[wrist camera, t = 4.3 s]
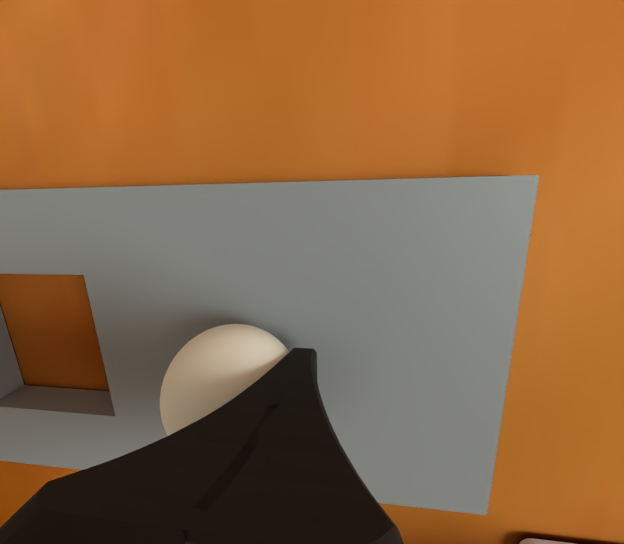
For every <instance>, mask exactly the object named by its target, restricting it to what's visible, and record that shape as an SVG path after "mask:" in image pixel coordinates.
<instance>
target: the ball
mask: <svg viewBox="0 0 624 544" xmlns="http://www.w3.org/2000/svg"><path fill="white" fill-rule="evenodd" d="M288 353H289V351H288V349H287V348H286V347H285V346H284V345H283V344H282V343H281V342H280V341H279V340H278V339H277V338H276V337H275V336H273V335H272V334H270V333H269V332H267V331H265V330H263V329H260V328H258V327H255V326H251V325H245V324H227V325H221V326H217V327H214V328H211V329H209V330H206V331H204V332H202V333H201V334H199V335H197V336H196V337H194V338H193V339H192V340H190V341H189V342H188V343H187V344H186V345H185V346H184V347H183V348H182V349H181V350H180V351H179V352H178V353H177V355H176V356H175V357H174V359H173V360H172V362H171V363H170V365H169V367H168V370H167V372H166V374H165V376H164V380H163V383H162V387H161V393H160V413H161V419H162V423H163V426H164V429H165V431H166V433H167V435H168V436H169V435H171V434H173V433H174V432H176V431H178V430H180V429H182V428H184V427H186V426H188V425H190V424H192V423H194V422H196V421H198V420H199V419H201V418H203V417H205V416H207V415H208V414H210V413H211V412H213V411H215V410H216V409H218V408H220V407H221V406H223V405H224V404H226V403H227V402H229V401H230V400H232V399H233V398H235V397H236V396H238V395H239V394H240V393H241V392H243V391H244V390H245V389H247V388H248V387H249V386H251V385H252V384H253V383H255V382H256V381H257V380H258V379H260V378H261V377H262V376H263V375H264V374H265V373H267V372H268V371H269V370H270V369H271V368H272V367H274V366H275V365H276V364H277V363H278V362H279V361H280V360H281V359H282V358H284V357H285V356H286V355H287V354H288Z"/></svg>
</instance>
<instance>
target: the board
mask: <svg viewBox="0 0 624 544" xmlns="http://www.w3.org/2000/svg"><path fill="white" fill-rule="evenodd" d="M538 180H539V175H519V176H484V177H448V178H412V179H376V180H341V181H305V182H269V183H233V184H198V185H162V186H126V187H90V188H55V189H19V190H0V274H58V275H84V279H85V283H86V288H87V292H88V297H89V301H90V306H91V310H92V315H93V319H94V323H95V328H96V332H97V337H98V341H99V346H100V350H101V354H102V359H103V363H104V368H105V372H106V377H107V381H108V386H109V390H110V391H99V390H86V389H72V388H58V387H44V386H30V385H24V382H23V378H22V375H21V372H20V369H19V365H18V362H17V359H16V356H15V352H14V349H13V346H12V342H11V339H10V336H9V333H8V329H7V326H6V323H5V319H4V316H3V313H2V310H1V306H0V461H8V462H17V463H26V464H35V465H44V466H53V467H62V468H71V469H80V470H84V469H87V468H90V467H93V466H96V465H99V464H102V463H104V462H107V461H110V460H113V459H115V458H118V457H120V456H123V455H125V454H128V453H130V452H133V451H135V450H137V449H140V448H142V447H145V446H147V445H149V444H151V443H154V442H156V441H158V440H160V439H162V438H165V437H167V436H168V435H167V433H166V431H165V429H164V426H163V423H162V419H161V413H160V393H161V387H162V383H163V380H164V376H165V374H166V372H167V370H168V367H169V365H170V363H171V362H172V360H173V359H174V357H175V356H176V355H177V353H178V352H179V351H180V350H181V349H182V348H183V347H184V346H185V345H186V344H187V343H188V342H189V341H190V340H192V339H193V338H194V337H196V336H197V335H199V334H201V333H202V332H204V331H206V330H209V329H211V328H214V327H217V326H221V325H227V324H245V325H251V326H255V327H258V328H260V329H263V330H265V331H267V332H269V333H270V334H272V335H273V336H275V337H276V338H277V339H278V340H279V341H280V342H281V343H282V344H283V345H284V346H285V347H286V348H287V349H288V351H289V352H290V351H291V350H292V349H293V348H311V349H314V350H315V351H316V352H317V383H318V388H319V392H320V395H321V398H322V402H323V405H324V408H325V410H326V413H327V416H328V418H329V421H330V423H331V425H332V427H333V430H334V432H335V434H336V436H337V438H338V440H339V442H340V444H341V446H342V448H343V449H344V451H345V453H346V455H347V456H348V458H349V460H350V461H351V463H352V465H353V467H354V468H355V470H356V472H357V473H358V475H359V476H360V478H361V479H362V481H363V482H364V484H365V485H366V487H367V488H368V490H369V491H370V493H371V494H372V495H373V497H374V498H375V499H376V501H377V502H378V503H383V504H392V505H401V506H410V507H419V508H428V509H437V510H445V511H454V512H463V513H472V514H481V515H487V510H488V504H489V497H490V491H491V484H492V478H493V471H494V465H495V458H496V452H497V445H498V439H499V432H500V426H501V420H502V413H503V407H504V400H505V394H506V387H507V381H508V374H509V368H510V361H511V355H512V348H513V342H514V335H515V329H516V323H517V316H518V310H519V303H520V297H521V290H522V284H523V277H524V271H525V264H526V258H527V251H528V245H529V238H530V232H531V226H532V219H533V213H534V206H535V200H536V193H537V187H538Z"/></svg>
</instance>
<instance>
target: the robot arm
mask: <svg viewBox="0 0 624 544" xmlns="http://www.w3.org/2000/svg"><path fill="white" fill-rule="evenodd" d="M0 544H404V543H403V541H402V538H401V536H400V533H399V530H398V528H397V527H396V525H395V524H394V523H393V521H392V520H391V519H390V518H389V516H388V515H387V514H386V513H385V511H384V510H383V509H382V507H381V506H380V505H379V503H378V502H377V501H376V499H375V498H374V497H373V495H372V494H371V493H370V491H369V490H368V488H367V487H366V485H365V484H364V482H363V481H362V479H361V478H360V476H359V475H358V473H357V472H356V470H355V468H354V467H353V465H352V463H351V461H350V460H349V458H348V456H347V455H346V453H345V451H344V449H343V448H342V446H341V444H340V442H339V440H338V438H337V436H336V434H335V432H334V430H333V427H332V425H331V423H330V421H329V418H328V416H327V413H326V410H325V408H324V405H323V402H322V398H321V395H320V392H319V388H318V383H317V352H316V351H315V350H314V349H311V348H293V349H292V350H291V351H290V352H289V353H288V354H287V355H286V356H285V357H284V358H282V359H281V360H280V361H279V362H278V363H277V364H276V365H275V366H274V367H272V368H271V369H270V370H269V371H268V372H267V373H265V374H264V375H263V376H262V377H261V378H260V379H258V380H257V381H256V382H255V383H253V384H252V385H251V386H249V387H248V388H247V389H245V390H244V391H243V392H241V393H240V394H239V395H238V396H236V397H235V398H233V399H232V400H230V401H229V402H227V403H226V404H224V405H223V406H221V407H220V408H218V409H216V410H215V411H213V412H211V413H210V414H208V415H207V416H205V417H203V418H201V419H199V420H198V421H196V422H194V423H192V424H190V425H188V426H186V427H184V428H182V429H180V430H178V431H176V432H174V433H173V434H171V435H169V436H167V437H165V438H162V439H160V440H158V441H156V442H154V443H151V444H149V445H147V446H145V447H142V448H140V449H137V450H135V451H133V452H130V453H128V454H125V455H123V456H120V457H118V458H115V459H113V460H110V461H107V462H104V463H102V464H99V465H96V466H93V467H90V468H87V469H84V470H81V471H79V472H76V473H73V474H70V475H67V476H64V477H61V478H58V479H55V480H52V481H49V482H47V483H46V484H45V485H44V486H43V487H42V488H41V489H40V490H39V491H38V492H37V493H36V494H35V495H34V496H32V497H31V498H30V499H29V500H28V501H27V502H26V503H25V504H24V505H23V506H22V507H21V508H20V509H19V510H18V511H17V512H16V513H15V514H14V515H13V516H12V517H11V518H10V519H9V520H8V521H7V522H6V523H5V524H4V525H3V526H2V527H1V528H0ZM519 544H576V543H568V542H559V541H551V540H542V539H534V538H527V539H524V540H522V541H521V542H520V543H519Z"/></svg>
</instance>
